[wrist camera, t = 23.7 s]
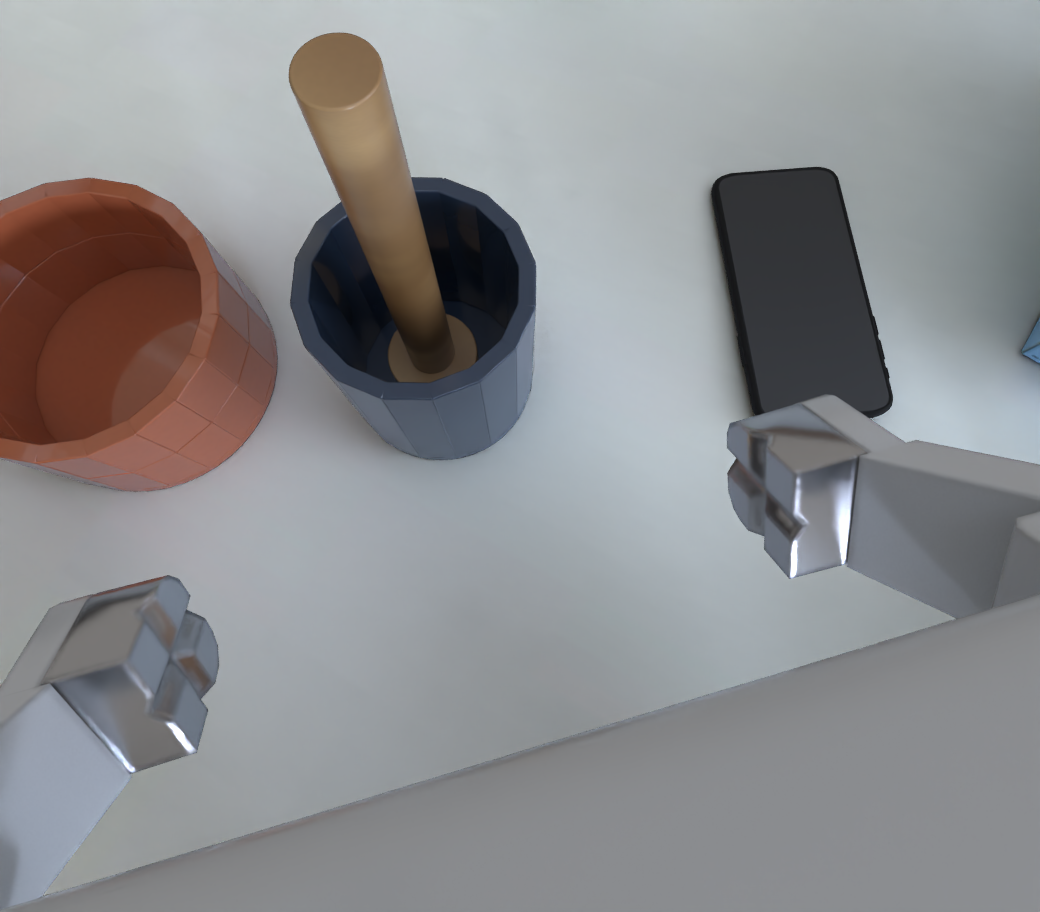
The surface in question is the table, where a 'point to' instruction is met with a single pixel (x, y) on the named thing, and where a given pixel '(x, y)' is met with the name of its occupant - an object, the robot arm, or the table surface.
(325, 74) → the stick
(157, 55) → the table surface
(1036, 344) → the gum box
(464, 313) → the holder
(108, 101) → the table surface
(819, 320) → the smartphone
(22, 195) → the pot
